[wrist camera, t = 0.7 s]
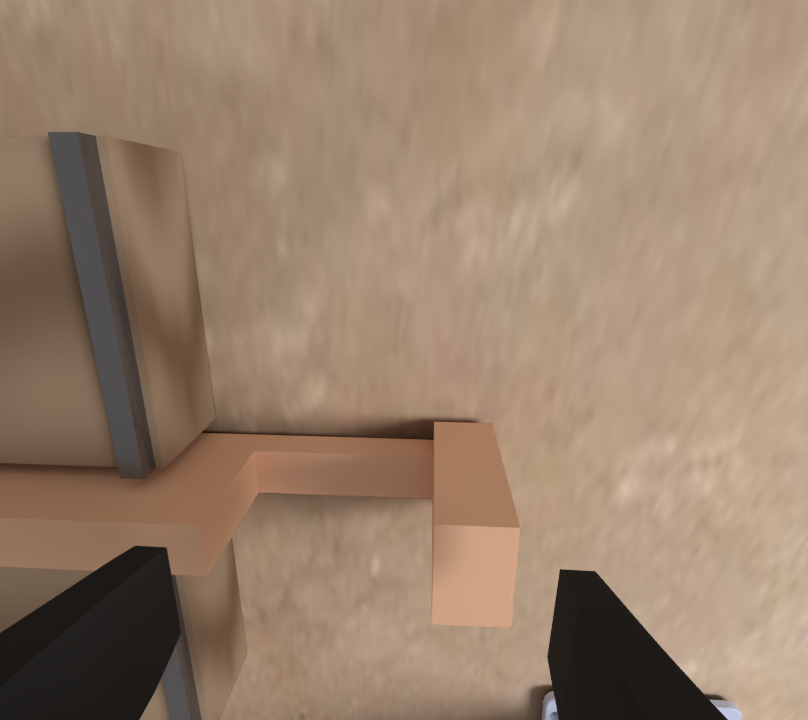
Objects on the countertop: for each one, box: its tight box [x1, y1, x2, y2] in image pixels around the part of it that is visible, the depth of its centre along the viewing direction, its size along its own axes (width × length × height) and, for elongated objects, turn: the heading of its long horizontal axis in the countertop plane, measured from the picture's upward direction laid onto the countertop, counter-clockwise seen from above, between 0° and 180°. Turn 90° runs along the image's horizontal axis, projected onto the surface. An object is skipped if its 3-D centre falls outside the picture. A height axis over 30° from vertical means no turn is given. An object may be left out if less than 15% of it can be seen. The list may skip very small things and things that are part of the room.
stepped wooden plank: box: [0, 422, 520, 628], centre depth 15 cm, size 3×23×6 cm, turn 90°
